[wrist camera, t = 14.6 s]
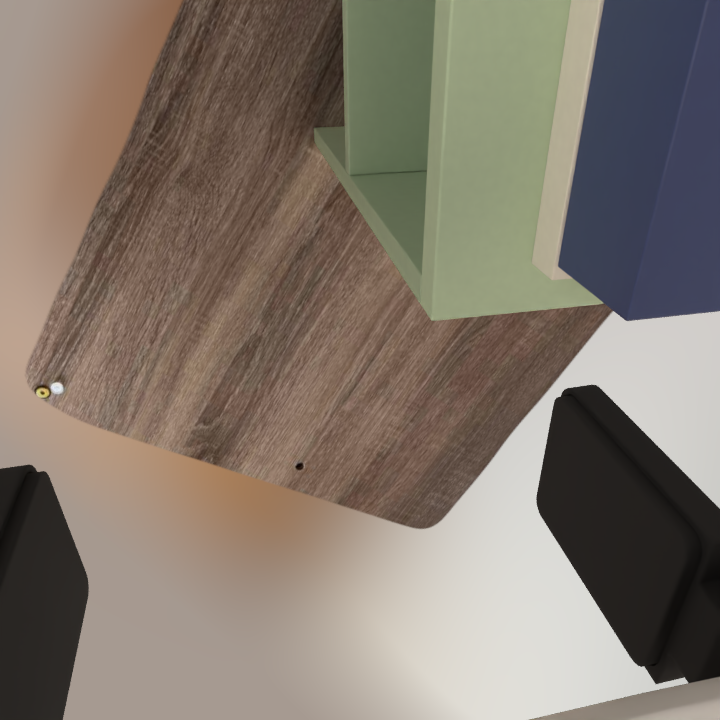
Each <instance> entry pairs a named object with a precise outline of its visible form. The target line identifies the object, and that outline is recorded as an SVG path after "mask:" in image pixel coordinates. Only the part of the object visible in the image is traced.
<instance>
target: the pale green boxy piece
mask: <svg viewBox="0 0 720 720" xmlns="http://www.w3.org/2000/svg"><path fill="white" fill-rule="evenodd" d="M570 4H571V0H342V11H343V63H344V116H345V126H342V127H319V128H314V142H315V144H316V146H317V147H318V149H319V150H320V152H321V153H322V155H323V156H324V158H325V159H326V161H327V162H328V164H329V166H330V167H331V169H332V170H333V172H334V173H335V175H336V176H337V178H338V179H339V181H340V182H341V184H342V185H343V187H344V188H345V190H346V191H347V193H348V194H349V196H350V198H351V199H352V201H353V202H354V204H355V205H356V207H357V208H358V210H359V211H360V213H361V214H362V216H363V217H364V219H365V220H366V222H367V223H368V225H369V227H370V228H371V230H372V231H373V233H374V234H375V236H376V237H377V239H378V240H379V242H380V243H381V245H382V246H383V248H384V249H385V251H386V252H387V254H388V255H389V257H390V259H391V260H392V262H393V263H394V265H395V266H396V268H397V269H398V271H399V272H400V274H401V275H402V277H403V278H404V280H405V281H406V283H407V284H408V286H409V288H410V289H411V291H412V292H413V294H414V295H415V297H416V298H417V300H418V301H419V303H421V305H422V307H423V308H424V310H425V311H426V313H427V314H428V316H429V318H430V319H431V320H432V321H437V320H447V319H457V318H467V317H477V316H487V315H497V314H506V313H516V312H526V311H536V310H546V309H556V308H566V307H576V306H586V305H596V304H604V303H603V302H602V301H601V300H599V299H598V298H597V297H596V296H594V295H593V294H592V293H591V292H589V291H588V290H587V289H586V288H584V287H583V286H582V285H580V284H579V283H578V282H577V281H575V280H574V279H573V278H572V279H561V280H551V279H550V278H549V277H547V276H546V275H545V274H544V273H543V272H541V271H540V270H539V269H538V268H537V267H536V266H534V265H533V264H532V256H533V249H534V242H535V236H536V229H537V223H538V216H539V209H540V203H541V196H542V189H543V183H544V176H545V170H546V163H547V156H548V150H549V143H550V136H551V130H552V123H553V117H554V110H555V103H556V97H557V90H558V83H559V77H560V70H561V64H562V57H563V50H564V44H565V37H566V30H567V24H568V17H569V11H570Z"/></svg>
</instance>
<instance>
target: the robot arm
mask: <svg viewBox="0 0 720 720" xmlns="http://www.w3.org/2000/svg"><path fill="white" fill-rule="evenodd" d="M537 507H538V510H539V513H540V515H541V517H542V518H543V520H544V521H545V523H546V525H547V526H548V528H549V529H550V531H551V533H552V534H553V536H554V537H555V539H556V540H557V542H558V543H559V545H560V546H561V548H562V550H563V551H564V553H565V555H566V556H567V558H568V559H569V561H570V562H571V564H572V566H573V567H574V569H575V570H576V572H577V574H578V575H579V576H580V578H581V580H582V581H583V583H584V584H585V586H586V588H587V589H588V591H589V592H590V594H591V596H592V597H593V599H594V600H595V602H596V604H597V605H598V607H599V608H600V610H601V611H602V613H603V614H604V616H605V618H606V619H607V621H608V622H609V624H610V626H611V627H612V629H613V630H614V632H615V633H616V635H617V637H618V638H619V640H620V641H621V643H622V645H623V646H624V648H625V649H626V651H627V652H628V654H629V656H630V657H631V658H632V660H633V661H634V662H635V663H636V664H637V665H638V666H641V667H642V666H645V668H646V669H647V671H648V673H649V674H650V676H651V677H652V679H653V680H654V682H655V683H656V684H658V683H662V682H666V681H671V680H674V679H679V678H683V677H685V678H686V680H687V681H688V684H684V685H679V686H674V687H670V688H665V689H660V690H656V691H651V692H646V693H642V694H637V695H633V696H629V697H624V698H620V699H616V700H612V701H607V702H603V703H599V704H594V705H590V706H586V707H582V708H578V709H573V710H569V711H565V712H560V713H556V714H552V715H548V716H543V717H539V718H535V719H530V720H720V509H719V508H718V507H717V506H716V505H715V504H714V503H713V502H712V501H711V500H710V499H709V498H708V497H707V496H706V495H705V494H704V493H703V492H702V491H701V489H700V488H699V487H698V486H696V485H695V483H694V482H692V480H691V479H689V477H688V476H687V475H686V474H685V473H684V472H682V470H681V469H680V468H679V467H678V466H677V465H676V464H675V463H674V462H673V461H672V460H671V459H670V458H669V457H668V456H667V455H666V454H665V453H664V452H663V451H662V450H661V449H660V448H659V447H658V446H657V445H656V444H655V443H654V442H653V441H652V440H651V439H650V438H649V437H648V436H647V435H646V434H645V433H644V432H643V431H642V430H641V429H640V428H639V427H638V426H637V425H636V424H635V423H634V422H633V421H632V420H631V419H630V418H629V417H628V416H627V415H626V414H625V413H624V412H623V411H622V410H621V409H620V408H619V407H618V406H617V405H616V404H615V403H614V402H613V401H612V400H611V399H610V398H609V397H608V396H607V395H606V394H605V393H604V392H603V391H602V390H601V389H600V388H599V387H597V386H596V385H587V386H580V387H573V388H567V389H565V390H564V391H563V392H562V395H561V397H558V398H556V400H555V402H554V406H553V411H552V417H551V423H550V427H549V433H548V439H547V444H546V449H545V455H544V460H543V465H542V470H541V476H540V481H539V487H538V492H537ZM87 599H88V578H87V575H86V572H85V569H84V566H83V564H82V561H81V559H80V556H79V553H78V551H77V548H76V546H75V543H74V540H73V538H72V535H71V533H70V530H69V528H68V525H67V522H66V519H65V517H64V514H63V512H62V509H61V506H60V504H59V501H58V499H57V496H56V494H55V491H54V488H53V486H52V483H51V481H50V478H49V476H48V474H47V473H46V472H44V471H43V472H37V471H36V469H35V468H34V467H33V466H32V465H24V466H17V467H10V468H3V469H0V720H63V715H64V711H65V706H66V701H67V695H68V690H69V686H70V681H71V677H72V672H73V667H74V662H75V657H76V652H77V647H78V643H79V638H80V633H81V627H82V623H83V618H84V613H85V608H86V604H87Z"/></svg>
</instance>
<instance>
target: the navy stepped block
mask: <svg viewBox="0 0 720 720" xmlns="http://www.w3.org/2000/svg"><path fill="white" fill-rule="evenodd" d="M532 264H533V265H534V266H536V267H537V268H538V269H539V270H540V271H541V272H543V273H544V274H545V275H546V276H547V277H549V278H550V279H551V280H561V279H572V278H573V279H574V280H575V281H577V282H578V283H579V284H580V285H582V286H583V287H584V288H586V289H587V290H588V291H589V292H591V293H592V294H593V295H594V296H596V297H597V298H598V299H599V300H601V301H602V302H603V303H604V304H606V305H607V306H608V307H609V308H611V309H612V310H613V311H615V312H616V313H617V314H618V315H620V316H621V317H622V318H624V319H625V320H626V321H631V320H640V319H650V318H660V317H669V316H679V315H688V314H696V313H706V312H715V311H720V0H571V4H570V11H569V17H568V24H567V30H566V37H565V44H564V50H563V57H562V64H561V70H560V77H559V83H558V90H557V97H556V103H555V110H554V117H553V123H552V130H551V136H550V143H549V150H548V156H547V163H546V170H545V176H544V183H543V189H542V196H541V203H540V209H539V216H538V223H537V229H536V236H535V242H534V249H533V256H532Z"/></svg>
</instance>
